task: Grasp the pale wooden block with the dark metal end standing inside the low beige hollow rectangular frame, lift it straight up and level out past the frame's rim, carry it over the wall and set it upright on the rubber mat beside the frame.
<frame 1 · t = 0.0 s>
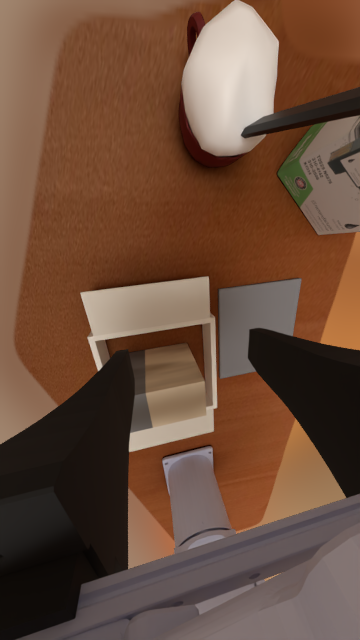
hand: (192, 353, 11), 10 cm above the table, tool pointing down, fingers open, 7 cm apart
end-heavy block: (162, 380, 19), in the beige hollow rectangular frame
cocoa: (209, 138, 16), on the table
beige hollow rectangular frame: (160, 362, 22), on the table
mat: (256, 330, 23), on the table
ink box: (314, 187, 19), on the table
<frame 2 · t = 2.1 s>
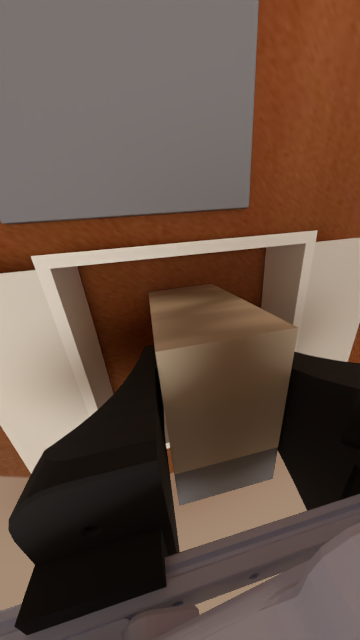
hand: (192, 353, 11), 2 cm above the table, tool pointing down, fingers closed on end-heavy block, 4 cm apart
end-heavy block: (199, 369, 9), in the beige hollow rectangular frame, touching gripper
beige hollow rectangular frame: (185, 338, 13), on the table
mat: (115, 78, 8), on the table
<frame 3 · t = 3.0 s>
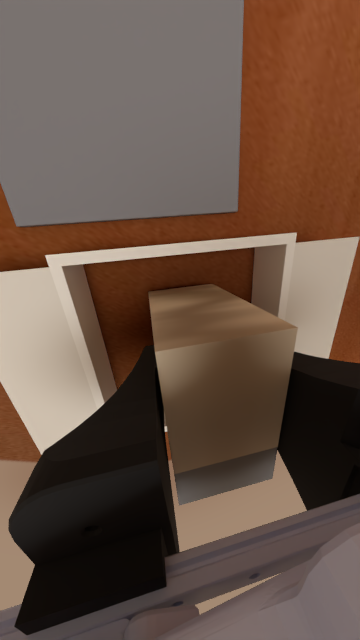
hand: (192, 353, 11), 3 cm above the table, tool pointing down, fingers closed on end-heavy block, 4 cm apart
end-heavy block: (199, 368, 9), point 5 cm above the table, touching gripper
beige hollow rectangular frame: (181, 331, 14), on the table
mat: (118, 99, 9), on the table
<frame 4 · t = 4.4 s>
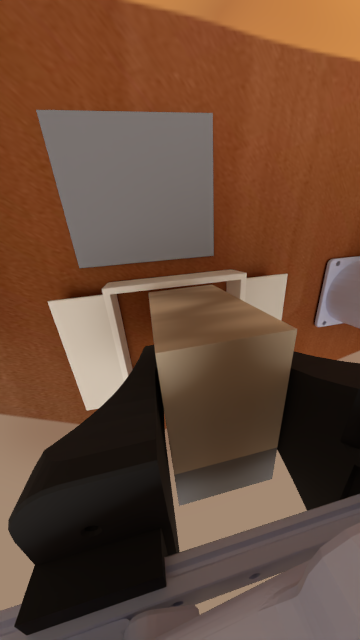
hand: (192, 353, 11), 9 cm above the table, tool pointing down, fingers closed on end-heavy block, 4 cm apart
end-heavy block: (199, 369, 9), point 10 cm above the table, touching gripper
beige hollow rectangular frame: (177, 331, 20), on the table
mat: (141, 197, 15), on the table
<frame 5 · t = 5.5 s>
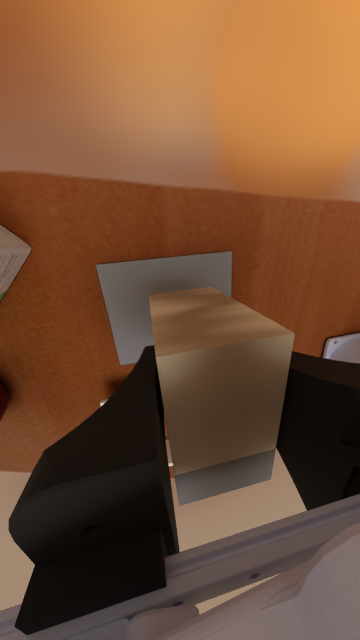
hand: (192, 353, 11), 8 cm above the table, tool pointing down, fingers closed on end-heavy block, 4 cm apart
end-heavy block: (199, 371, 10), point 10 cm above the table, touching gripper
mat: (172, 310, 18), on the table
when the fingers open (4 cm above the table, at t = 6.7 s): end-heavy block drops 1 cm, resting on mat.
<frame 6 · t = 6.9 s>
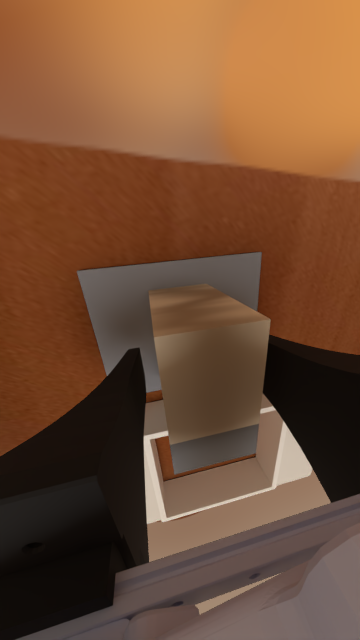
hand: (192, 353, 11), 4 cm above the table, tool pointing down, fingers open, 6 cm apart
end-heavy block: (193, 359, 11), on the mat
beige hollow rectangular frame: (210, 435, 19), on the table
mat: (181, 329, 14), on the table
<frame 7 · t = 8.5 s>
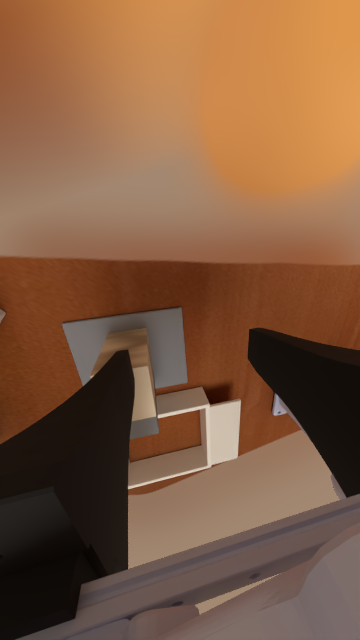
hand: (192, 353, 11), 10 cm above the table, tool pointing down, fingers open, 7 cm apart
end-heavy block: (131, 378, 18), on the mat
beige hollow rectangular frame: (162, 428, 26), on the table
mat: (133, 355, 21), on the table
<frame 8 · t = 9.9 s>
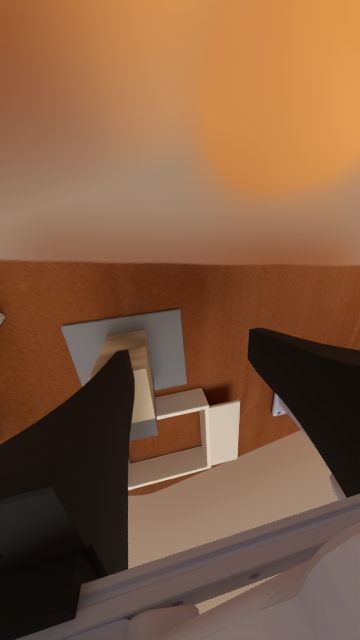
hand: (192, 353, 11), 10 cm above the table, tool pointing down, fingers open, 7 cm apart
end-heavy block: (130, 380, 18), on the mat
beige hollow rectangular frame: (162, 429, 26), on the table
mat: (132, 357, 21), on the table
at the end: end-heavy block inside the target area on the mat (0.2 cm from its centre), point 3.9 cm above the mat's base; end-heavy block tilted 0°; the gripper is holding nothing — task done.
